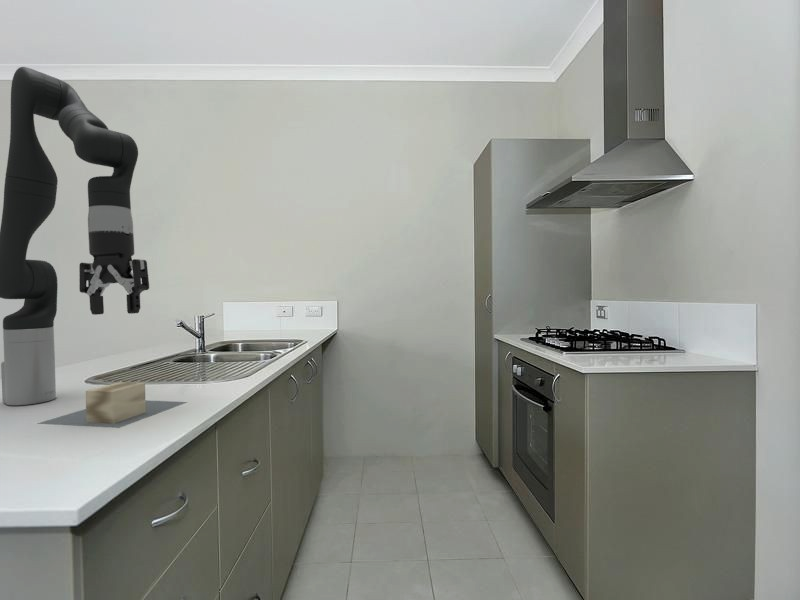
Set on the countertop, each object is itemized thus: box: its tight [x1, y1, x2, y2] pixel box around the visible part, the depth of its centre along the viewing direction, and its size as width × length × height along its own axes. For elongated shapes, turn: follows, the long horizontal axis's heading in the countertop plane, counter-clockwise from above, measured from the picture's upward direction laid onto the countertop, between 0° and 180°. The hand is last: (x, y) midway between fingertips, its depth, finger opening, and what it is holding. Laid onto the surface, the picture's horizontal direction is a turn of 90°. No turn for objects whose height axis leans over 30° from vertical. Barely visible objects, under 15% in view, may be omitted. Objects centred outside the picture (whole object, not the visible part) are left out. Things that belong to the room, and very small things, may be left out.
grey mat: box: [37, 399, 188, 429], centre depth 93 cm, size 18×19×1 cm
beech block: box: [85, 381, 146, 424], centre depth 89 cm, size 6×8×6 cm
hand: (115, 313), depth 90 cm, fingers open, 8 cm apart
